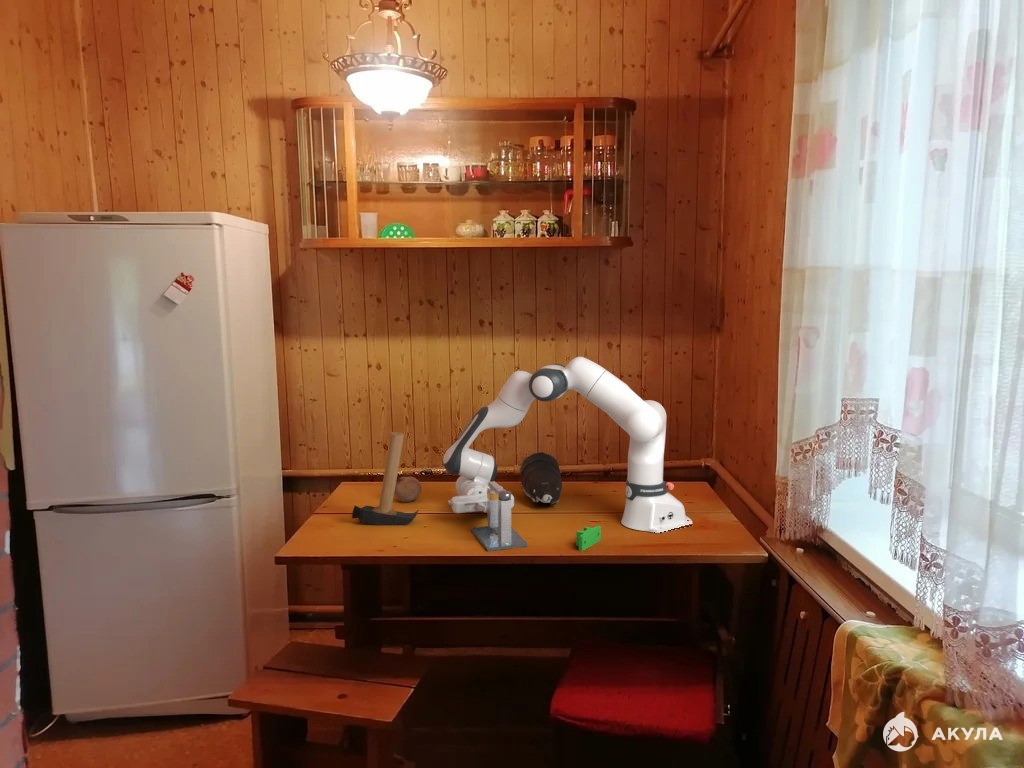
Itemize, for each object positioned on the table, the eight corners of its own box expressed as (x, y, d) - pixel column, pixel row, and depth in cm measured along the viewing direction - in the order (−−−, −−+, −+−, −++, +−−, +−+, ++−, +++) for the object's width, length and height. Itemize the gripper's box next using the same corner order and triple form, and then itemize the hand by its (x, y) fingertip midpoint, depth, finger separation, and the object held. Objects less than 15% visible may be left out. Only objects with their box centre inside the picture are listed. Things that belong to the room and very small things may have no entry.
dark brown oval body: (528, 479, 232) (522, 448, 256) (521, 520, 237) (515, 486, 261) (572, 484, 234) (562, 453, 258) (564, 524, 239) (555, 490, 262)
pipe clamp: (589, 538, 213) (589, 523, 212) (600, 540, 210) (601, 526, 210) (570, 549, 203) (571, 533, 203) (582, 551, 201) (582, 536, 201)
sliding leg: (497, 526, 218) (496, 487, 216) (500, 530, 215) (500, 490, 213) (487, 527, 217) (486, 488, 215) (490, 531, 214) (490, 491, 212)
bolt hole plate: (508, 526, 222) (508, 523, 222) (527, 546, 205) (527, 542, 205) (471, 530, 218) (471, 527, 218) (488, 551, 201) (487, 547, 201)
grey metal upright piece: (497, 527, 218) (497, 480, 216) (512, 543, 205) (512, 493, 202) (486, 528, 217) (485, 481, 215) (500, 544, 203) (500, 494, 201)
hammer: (415, 527, 228) (431, 437, 224) (413, 532, 223) (429, 441, 219) (354, 515, 228) (369, 426, 224) (351, 520, 223) (365, 429, 219)
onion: (398, 511, 247) (385, 488, 243) (405, 496, 255) (392, 474, 252) (422, 503, 244) (409, 480, 241) (428, 489, 253) (416, 466, 249)
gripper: (446, 491, 229) (456, 503, 216) (506, 485, 236) (519, 496, 223) (446, 509, 230) (457, 523, 217) (506, 503, 237) (519, 516, 224)
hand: (489, 509), depth 220 cm, fingers closed
